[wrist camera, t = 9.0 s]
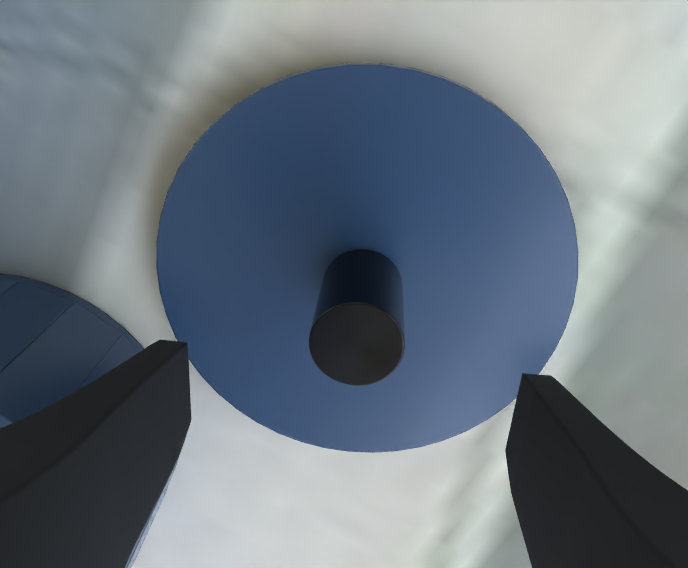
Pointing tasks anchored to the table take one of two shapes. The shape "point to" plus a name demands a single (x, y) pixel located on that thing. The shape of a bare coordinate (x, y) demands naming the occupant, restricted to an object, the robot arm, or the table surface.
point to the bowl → (55, 352)
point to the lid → (367, 257)
